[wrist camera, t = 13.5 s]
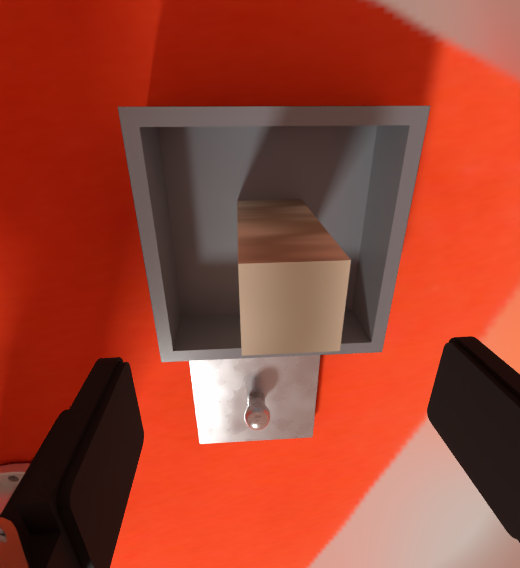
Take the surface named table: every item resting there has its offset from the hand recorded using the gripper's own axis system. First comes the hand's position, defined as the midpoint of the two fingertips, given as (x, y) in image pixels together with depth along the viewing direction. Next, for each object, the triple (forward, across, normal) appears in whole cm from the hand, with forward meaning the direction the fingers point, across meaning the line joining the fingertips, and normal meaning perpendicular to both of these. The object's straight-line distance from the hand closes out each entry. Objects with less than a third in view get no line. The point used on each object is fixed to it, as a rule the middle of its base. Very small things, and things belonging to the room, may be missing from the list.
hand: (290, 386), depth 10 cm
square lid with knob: (+15, 0, +13) cm, 20 cm away
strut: (+13, -1, -1) cm, 13 cm away
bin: (+14, -1, -1) cm, 14 cm away
